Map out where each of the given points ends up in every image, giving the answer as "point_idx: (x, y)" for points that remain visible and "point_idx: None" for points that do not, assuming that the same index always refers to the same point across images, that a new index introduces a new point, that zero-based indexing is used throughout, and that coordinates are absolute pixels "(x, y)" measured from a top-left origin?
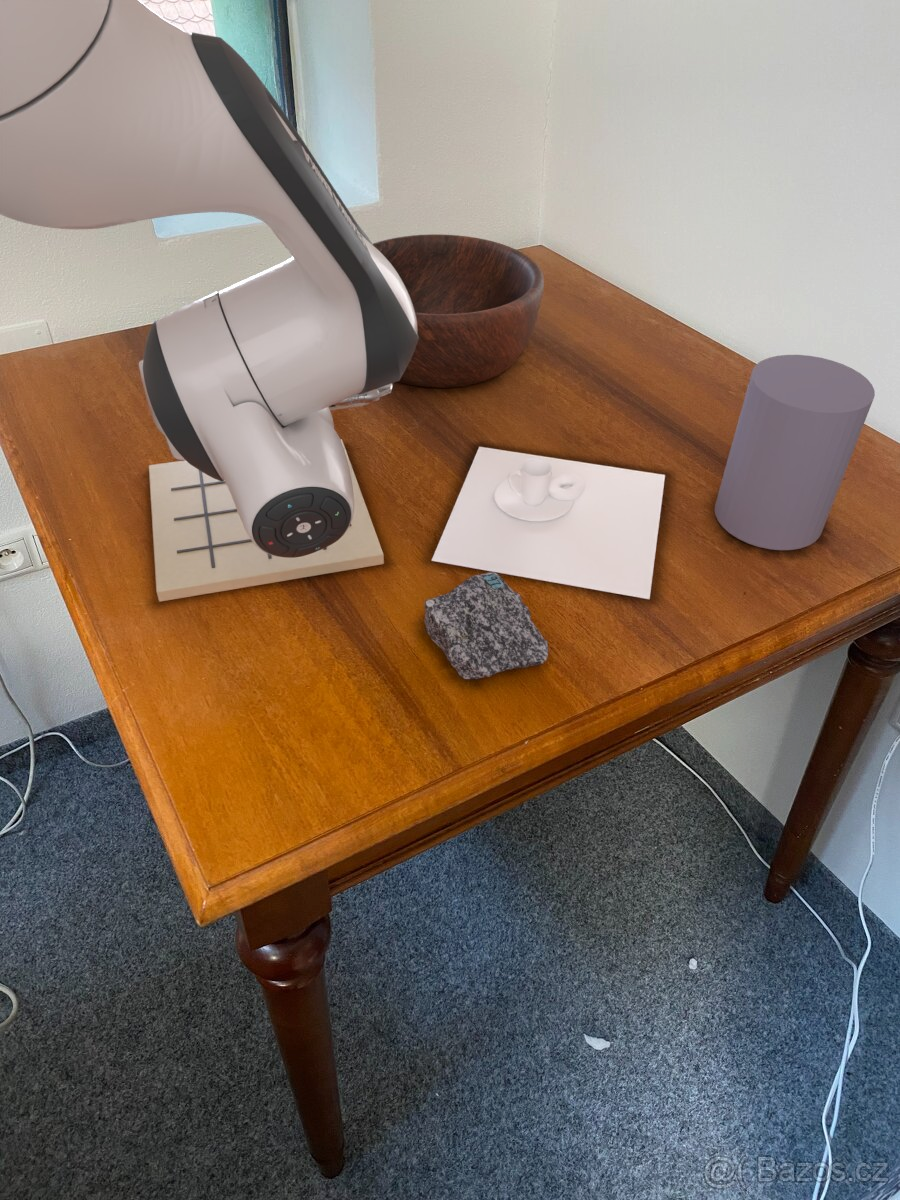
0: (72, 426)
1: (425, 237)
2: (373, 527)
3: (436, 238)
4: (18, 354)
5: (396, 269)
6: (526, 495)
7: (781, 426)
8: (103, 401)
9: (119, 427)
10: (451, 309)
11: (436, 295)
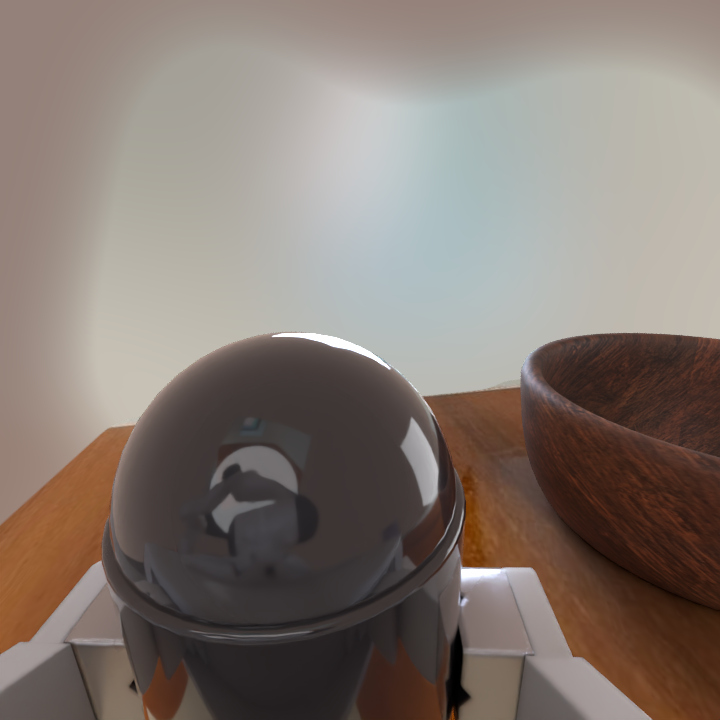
0: (43, 576)
1: (643, 336)
2: None
3: (661, 338)
4: (114, 430)
5: (596, 375)
6: None
7: None
8: None
9: None
10: (676, 437)
11: (651, 415)
